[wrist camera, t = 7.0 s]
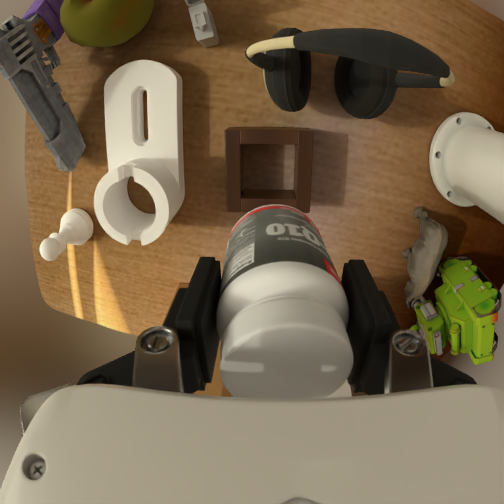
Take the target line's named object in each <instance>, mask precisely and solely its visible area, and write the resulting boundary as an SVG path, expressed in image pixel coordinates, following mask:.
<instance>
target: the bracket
mask: <svg viewBox="0 0 504 504" xmlns="http://www.w3.org/2000/svg"><path fill="white" fill-rule="evenodd" d="M145 90H146V91H147V110H148V140H146V139H145V137H144V111H143V93H144V91H145ZM104 110H105V131H106V146H107V158H108V169H109V172H108V173H107V174H106V175H105V176H103V178H102V179H101V180H100V182H99V183H98V185H97V188H96V190H95V195H94V208H95V213H96V216H97V219H98V221H99V223H100V225H101V226H102V228H103V229H104V230H105V231H106V233H107V234H108V235H109V236H111V237H112V238H113V239H115V240H116V241H118V242H120V243H123V244H126V245H128V244H129V243H130V241H131V240H132V239H134V240H141V243H142V245H146V244H149V243H151V242H153V241H154V240H156V239H157V238H158V237H159V236H160V235H161V234H162V232H163V231H164V230H165V228H166V227H167V226H168V224H169V223H170V221H171V220H172V219H173V217H174V216H175V215H176V213H177V212H178V211H179V209H180V208H181V206H182V204H183V201H184V197H185V182H184V157H183V111H182V78H181V76H180V75H179V74H178V73H177V72H176V71H175V70H174V69H172V68H171V67H169V66H167V65H165V64H162V63H159V62H155V61H151V60H137V61H133V62H130V63H127V64H125V65H123V66H121V67H120V68H118V69H117V70H116V71H115V72H113V73H112V74H111V75H110V77H109V78H108V79H107V80H106V82H105V85H104ZM130 176H132V177H134V182H137V183H139V184H141V185H142V186H143V187H145V188H146V189H147V190H148V192H149V193H150V194H151V196H152V198H153V200H154V203H155V207H156V214H148V213H144V212H142V211H140V210H139V209H137V208H136V207H135V206H134V205H133V204H132V202H131V201H130V199H129V196H128V192H127V184H128V180H129V178H130Z"/></svg>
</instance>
